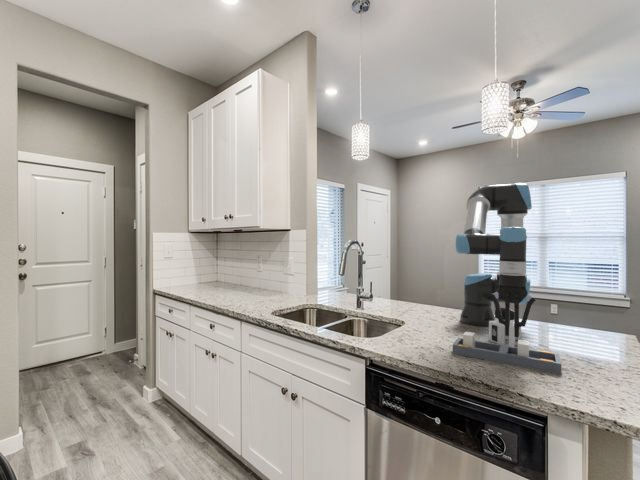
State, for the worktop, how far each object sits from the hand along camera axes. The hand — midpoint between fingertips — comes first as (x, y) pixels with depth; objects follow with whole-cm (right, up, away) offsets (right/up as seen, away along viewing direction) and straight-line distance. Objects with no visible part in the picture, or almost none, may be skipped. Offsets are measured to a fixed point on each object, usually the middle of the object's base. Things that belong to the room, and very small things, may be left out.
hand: (511, 346), depth 105 cm
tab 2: (+3, -3, -2) cm, 5 cm away
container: (+8, -5, +18) cm, 20 cm away
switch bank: (-2, -5, +1) cm, 5 cm away
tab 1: (-11, -3, +7) cm, 13 cm away
